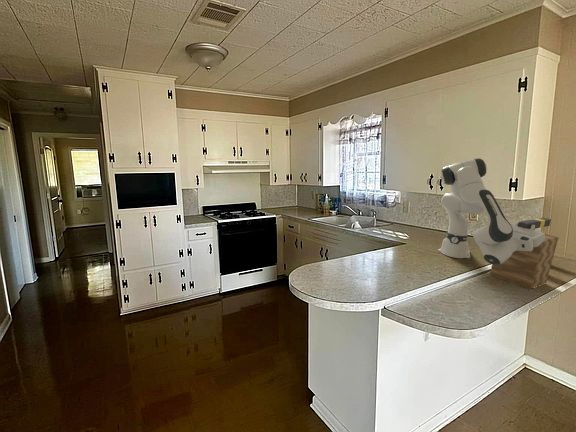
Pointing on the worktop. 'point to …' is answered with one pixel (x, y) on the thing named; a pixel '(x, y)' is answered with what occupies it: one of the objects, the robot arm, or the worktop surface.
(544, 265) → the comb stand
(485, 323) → the worktop surface
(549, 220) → the dark long bar piece
